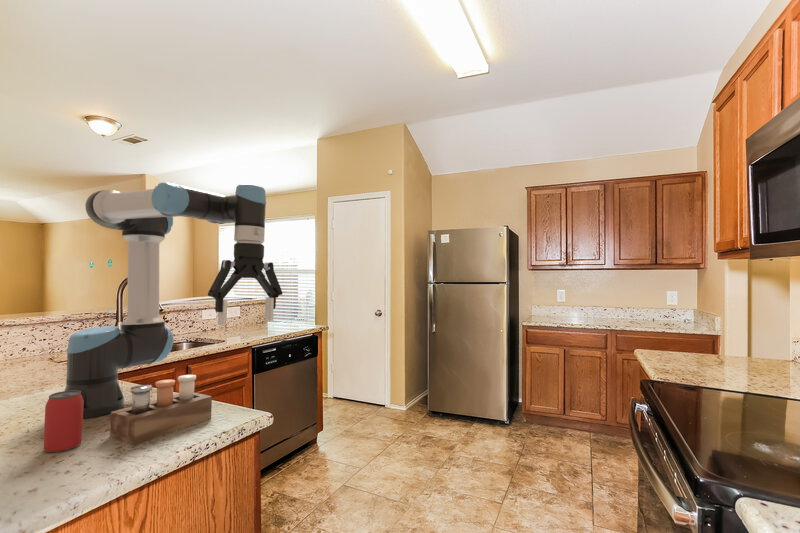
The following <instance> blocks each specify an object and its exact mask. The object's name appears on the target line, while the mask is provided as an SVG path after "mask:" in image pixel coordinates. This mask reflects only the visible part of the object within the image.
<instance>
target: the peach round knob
mask: <svg viewBox="0 0 800 533" xmlns="http://www.w3.org/2000/svg"><path fill="white" fill-rule="evenodd" d="M154 383H155V387H156V400H157V406H156V407H160V408H162V407H166V406H169V405H173V395H174V386H175V385H176V380H175V379H162V380H157V381H156V382H154Z"/></svg>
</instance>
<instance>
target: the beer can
mask: <svg viewBox="0 0 800 533" xmlns="http://www.w3.org/2000/svg"><path fill="white" fill-rule="evenodd" d="M45 403H46V404H45V406H44V424H43V426H44V427H43V429H44V430H43V445H42V446H43V447H42V448H43V450H44V452H46V453H61V452H62V453H63V452H66V451H69V450H73V449H75V448H76V447H79V446H80V445H81V444H82V442H83V426H84V425H83V422H84V419H83V403H84V401H83V397H82V395H81V391H77V390H71V391H65V390H63V391H58V392H55V393H52V394H50V395H49V396H48V399H47V401H46V402H45Z"/></svg>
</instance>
